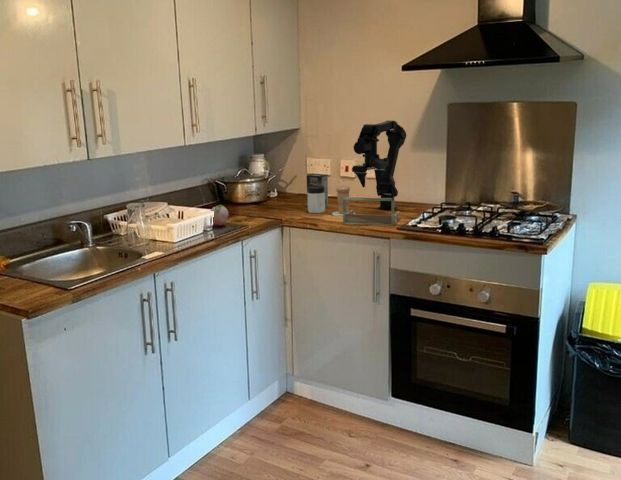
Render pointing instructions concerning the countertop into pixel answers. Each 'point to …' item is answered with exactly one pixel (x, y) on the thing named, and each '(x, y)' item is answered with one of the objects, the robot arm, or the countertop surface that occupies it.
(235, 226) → the countertop surface
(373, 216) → the box
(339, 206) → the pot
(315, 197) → the jar
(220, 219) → the decorative fruit
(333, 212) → the saucer
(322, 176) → the coffee box
